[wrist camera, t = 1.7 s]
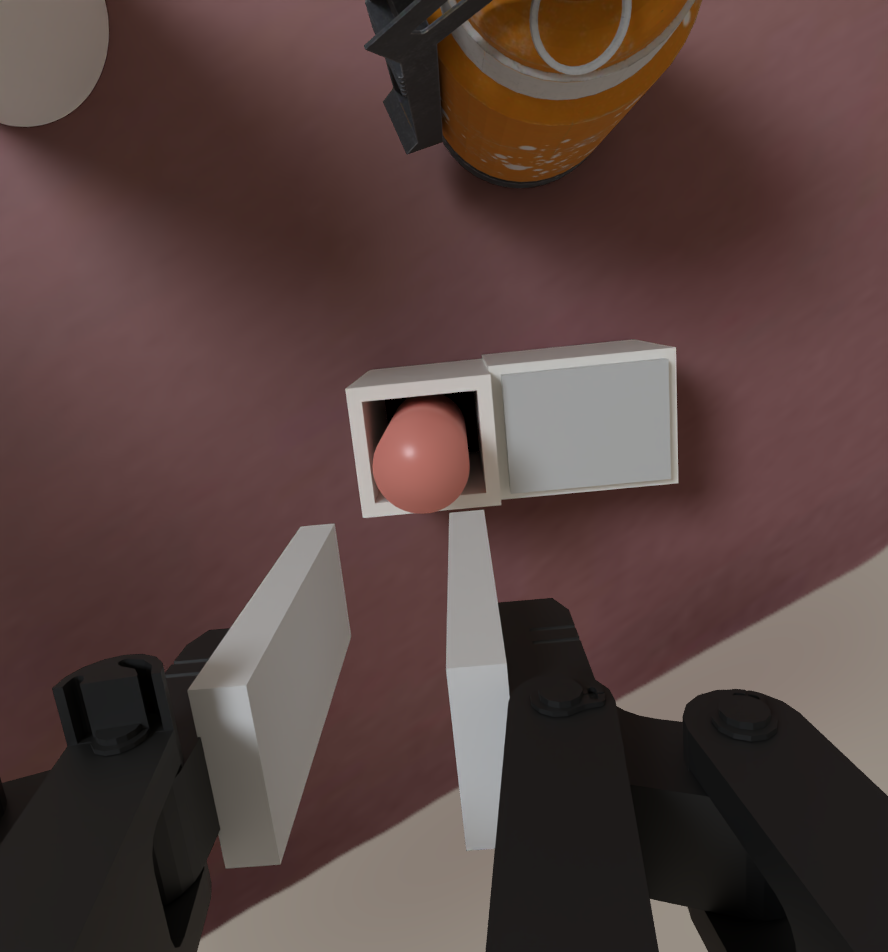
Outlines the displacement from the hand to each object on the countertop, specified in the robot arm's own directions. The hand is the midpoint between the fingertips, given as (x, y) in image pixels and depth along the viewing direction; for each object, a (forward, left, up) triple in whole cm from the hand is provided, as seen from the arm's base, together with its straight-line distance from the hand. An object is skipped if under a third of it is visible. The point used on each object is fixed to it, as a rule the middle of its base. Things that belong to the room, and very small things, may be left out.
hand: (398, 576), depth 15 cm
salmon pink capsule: (0, 0, -19) cm, 19 cm away
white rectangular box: (+4, 0, -23) cm, 23 cm away
